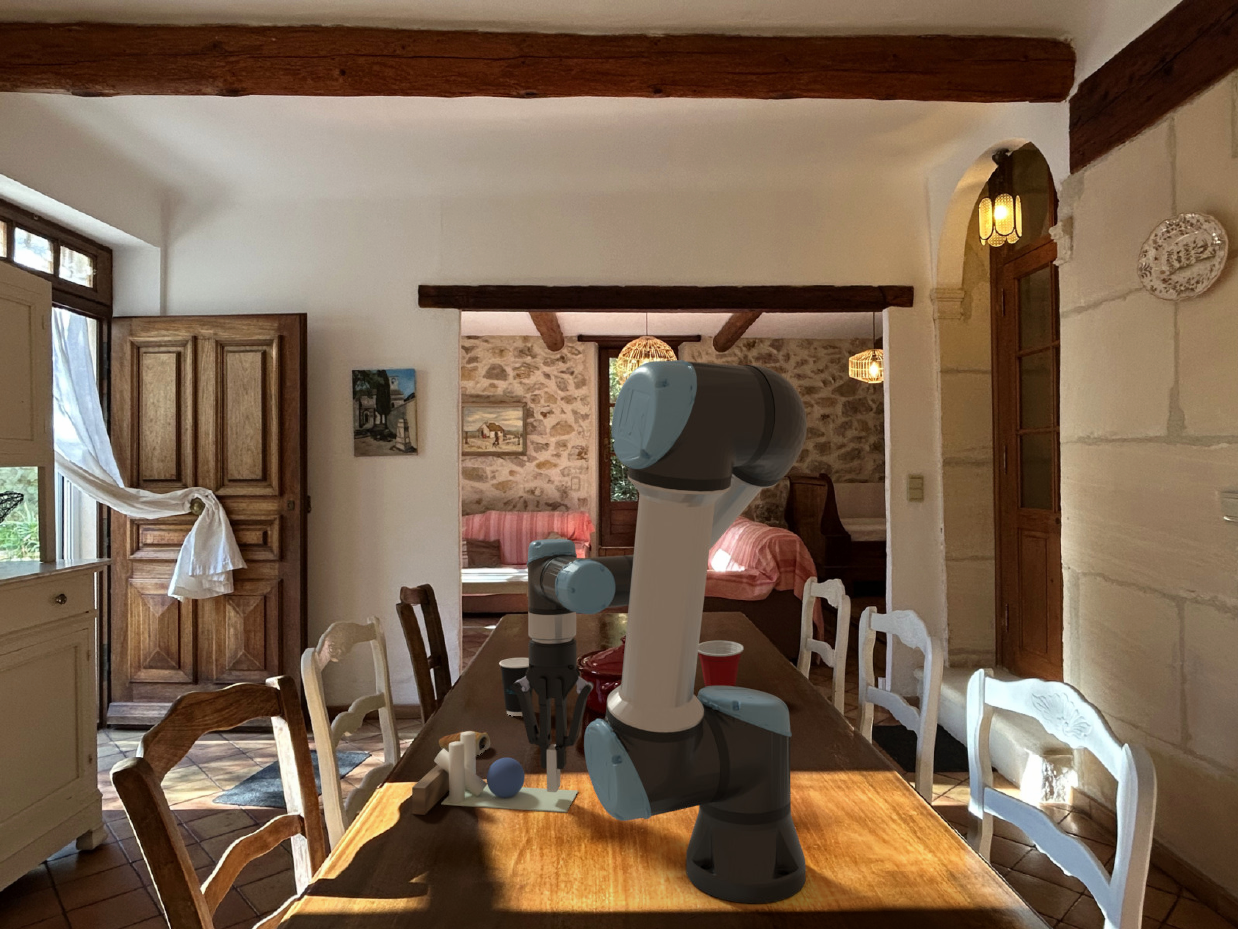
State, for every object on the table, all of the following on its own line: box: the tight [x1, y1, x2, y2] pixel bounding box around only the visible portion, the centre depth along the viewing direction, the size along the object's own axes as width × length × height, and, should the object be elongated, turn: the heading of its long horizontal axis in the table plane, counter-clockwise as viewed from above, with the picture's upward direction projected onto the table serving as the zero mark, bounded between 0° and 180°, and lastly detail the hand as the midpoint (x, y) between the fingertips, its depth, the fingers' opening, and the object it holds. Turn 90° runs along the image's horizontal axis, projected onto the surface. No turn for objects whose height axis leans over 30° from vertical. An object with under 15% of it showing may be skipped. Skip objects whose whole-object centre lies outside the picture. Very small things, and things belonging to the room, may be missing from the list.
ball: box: [486, 757, 525, 798], centre depth 129 cm, size 6×6×6 cm
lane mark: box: [441, 785, 579, 813], centre depth 128 cm, size 8×20×1 cm, turn 80°
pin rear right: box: [448, 741, 465, 803], centre depth 127 cm, size 2×2×9 cm
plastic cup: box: [698, 640, 744, 687], centre depth 183 cm, size 11×11×12 cm
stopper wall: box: [411, 763, 449, 816], centre depth 131 cm, size 16×2×4 cm, turn 170°
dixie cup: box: [498, 657, 534, 717], centre depth 173 cm, size 8×8×11 cm
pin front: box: [433, 748, 487, 797], centre depth 130 cm, size 2×2×9 cm
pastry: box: [438, 730, 491, 757], centre depth 151 cm, size 9×7×4 cm
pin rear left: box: [460, 730, 477, 791], centre depth 132 cm, size 2×2×9 cm
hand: (553, 788), depth 127 cm, fingers closed
